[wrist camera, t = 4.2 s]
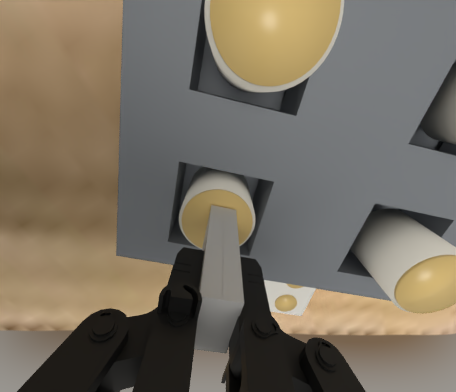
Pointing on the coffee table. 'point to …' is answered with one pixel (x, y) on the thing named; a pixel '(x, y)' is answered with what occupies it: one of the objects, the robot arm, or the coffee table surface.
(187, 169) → the console
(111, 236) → the coffee table surface
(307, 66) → the button
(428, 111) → the button
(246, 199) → the button
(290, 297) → the card
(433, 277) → the button
